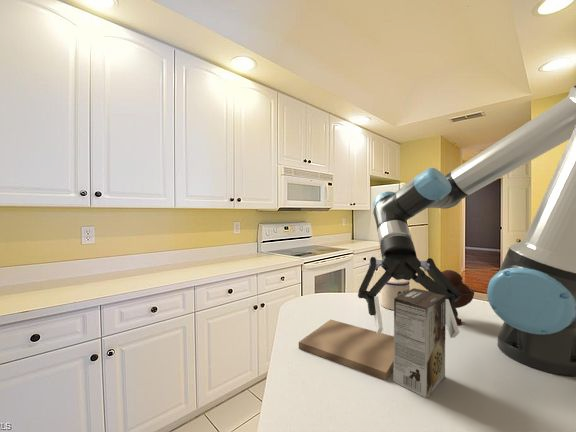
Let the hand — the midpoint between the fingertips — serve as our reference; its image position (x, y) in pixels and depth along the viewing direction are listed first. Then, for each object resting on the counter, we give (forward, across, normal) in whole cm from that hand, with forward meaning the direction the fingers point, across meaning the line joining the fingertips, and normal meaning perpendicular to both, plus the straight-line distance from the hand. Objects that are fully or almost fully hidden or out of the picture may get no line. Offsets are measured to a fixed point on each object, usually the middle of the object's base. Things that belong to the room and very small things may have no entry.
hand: (416, 333), depth 52 cm
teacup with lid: (-22, -8, -36) cm, 43 cm away
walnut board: (-1, +10, -14) cm, 18 cm away
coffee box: (+6, -1, -7) cm, 9 cm away
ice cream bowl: (-14, -20, -28) cm, 37 cm away
